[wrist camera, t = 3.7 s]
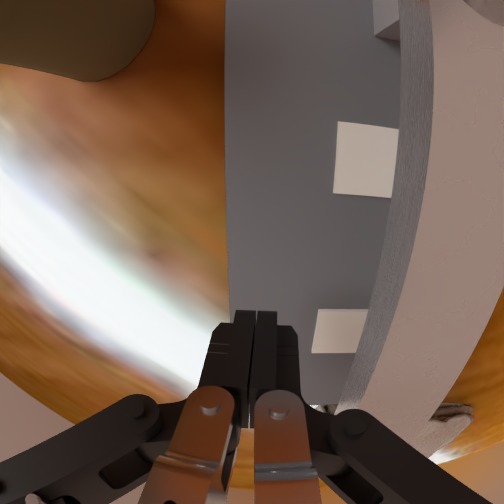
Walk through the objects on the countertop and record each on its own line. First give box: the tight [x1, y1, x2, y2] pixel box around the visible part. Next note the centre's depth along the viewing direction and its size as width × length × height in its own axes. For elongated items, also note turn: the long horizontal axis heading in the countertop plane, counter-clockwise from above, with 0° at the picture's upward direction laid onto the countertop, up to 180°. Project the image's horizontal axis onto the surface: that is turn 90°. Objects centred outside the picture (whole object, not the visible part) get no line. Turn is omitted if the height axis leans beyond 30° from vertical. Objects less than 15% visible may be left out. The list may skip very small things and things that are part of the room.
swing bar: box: [334, 0, 504, 445], centre depth 8 cm, size 4×22×2 cm, turn 179°
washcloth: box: [316, 403, 474, 458], centre depth 22 cm, size 12×18×3 cm, turn 77°
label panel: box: [225, 0, 401, 405], centre depth 12 cm, size 15×24×5 cm, turn 179°
